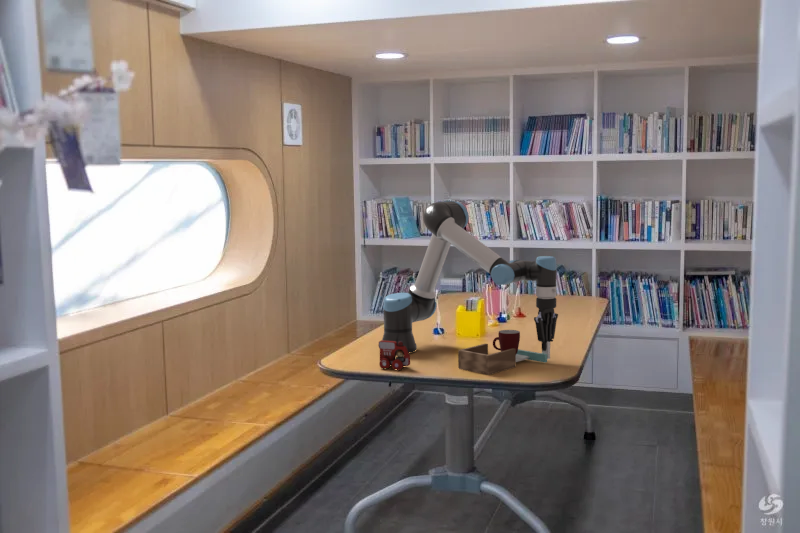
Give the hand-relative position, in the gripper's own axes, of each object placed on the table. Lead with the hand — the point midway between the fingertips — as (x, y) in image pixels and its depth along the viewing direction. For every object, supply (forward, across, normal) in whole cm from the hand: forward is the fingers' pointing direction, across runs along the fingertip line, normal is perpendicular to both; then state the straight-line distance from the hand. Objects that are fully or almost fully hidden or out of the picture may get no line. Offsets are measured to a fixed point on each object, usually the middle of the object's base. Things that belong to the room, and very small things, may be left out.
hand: (545, 358), depth 304 cm
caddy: (+2, -21, +12) cm, 24 cm away
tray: (+1, -9, +9) cm, 13 cm away
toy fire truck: (+2, -44, +38) cm, 58 cm away
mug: (0, -9, +12) cm, 15 cm away
